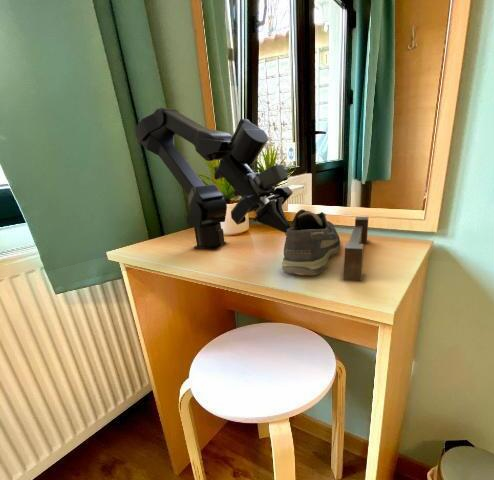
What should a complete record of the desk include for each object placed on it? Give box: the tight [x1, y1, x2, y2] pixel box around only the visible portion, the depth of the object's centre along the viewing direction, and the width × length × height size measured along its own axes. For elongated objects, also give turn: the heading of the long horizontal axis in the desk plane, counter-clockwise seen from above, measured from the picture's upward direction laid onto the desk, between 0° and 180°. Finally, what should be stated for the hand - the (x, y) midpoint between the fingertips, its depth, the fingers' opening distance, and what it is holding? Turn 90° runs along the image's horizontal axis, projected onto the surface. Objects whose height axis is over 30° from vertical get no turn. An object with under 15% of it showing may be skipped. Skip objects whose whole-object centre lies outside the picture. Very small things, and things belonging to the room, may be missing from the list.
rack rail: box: [343, 216, 369, 282], centre depth 68 cm, size 3×28×6 cm, turn 164°
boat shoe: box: [281, 209, 342, 276], centre depth 69 cm, size 11×29×11 cm, turn 167°
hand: (289, 231), depth 67 cm, fingers closed
